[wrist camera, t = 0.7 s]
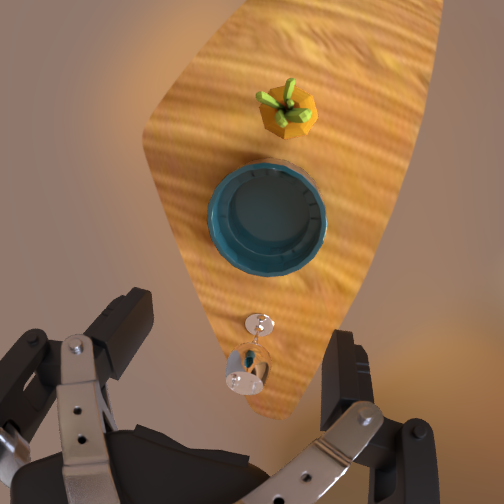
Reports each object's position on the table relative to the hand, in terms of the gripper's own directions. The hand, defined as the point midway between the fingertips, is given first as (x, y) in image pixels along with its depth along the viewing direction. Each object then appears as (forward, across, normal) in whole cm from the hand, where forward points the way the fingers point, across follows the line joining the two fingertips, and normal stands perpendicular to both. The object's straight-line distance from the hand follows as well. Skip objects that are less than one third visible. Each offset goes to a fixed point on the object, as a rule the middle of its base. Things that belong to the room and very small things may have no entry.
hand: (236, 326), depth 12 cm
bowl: (+26, +1, +4) cm, 26 cm away
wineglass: (+25, 0, +22) cm, 33 cm away
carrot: (+26, 0, -8) cm, 28 cm away
